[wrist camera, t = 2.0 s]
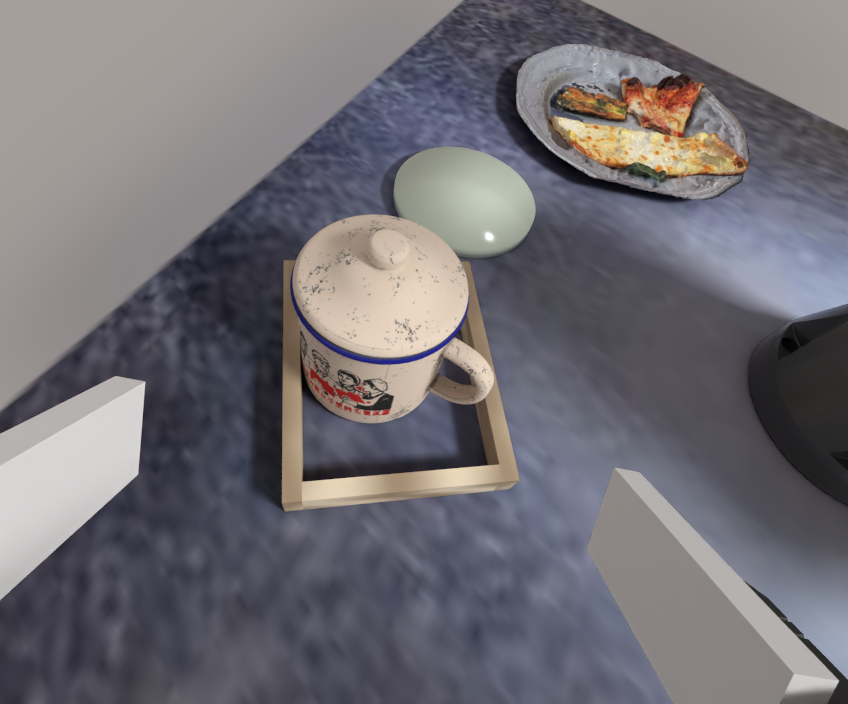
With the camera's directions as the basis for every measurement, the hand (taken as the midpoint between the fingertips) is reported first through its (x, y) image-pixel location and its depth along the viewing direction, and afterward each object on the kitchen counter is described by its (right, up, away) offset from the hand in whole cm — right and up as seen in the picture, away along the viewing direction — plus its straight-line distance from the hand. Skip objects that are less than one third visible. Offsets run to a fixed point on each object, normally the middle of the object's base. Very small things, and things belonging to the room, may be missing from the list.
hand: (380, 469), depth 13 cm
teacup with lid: (-1, +2, +18) cm, 18 cm away
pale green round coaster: (+5, +16, +28) cm, 32 cm away
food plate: (+22, +27, +38) cm, 52 cm away
